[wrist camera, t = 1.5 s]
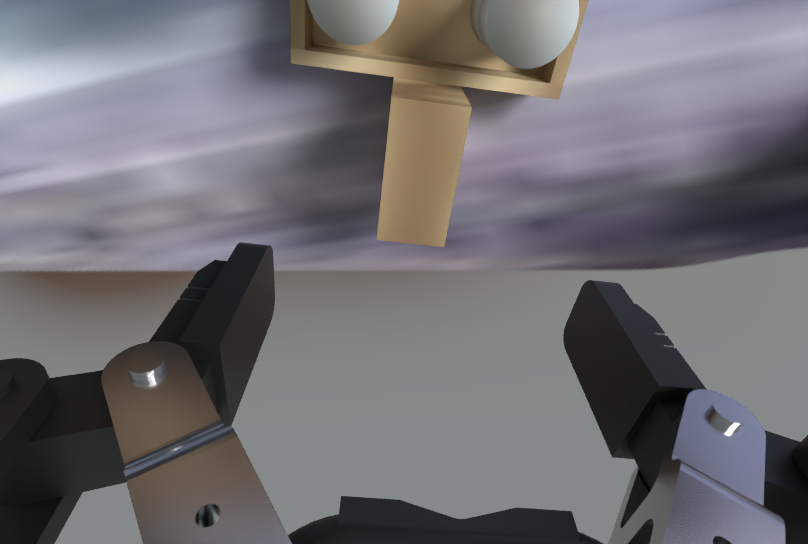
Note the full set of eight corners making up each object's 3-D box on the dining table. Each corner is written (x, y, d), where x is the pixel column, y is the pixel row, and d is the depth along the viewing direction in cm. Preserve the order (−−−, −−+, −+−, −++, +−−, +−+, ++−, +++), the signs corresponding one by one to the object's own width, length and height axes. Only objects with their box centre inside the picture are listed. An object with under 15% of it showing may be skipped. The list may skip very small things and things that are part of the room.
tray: (581, -60, 19) (658, -78, 13) (511, 195, 26) (542, 257, 20) (304, -104, 19) (257, -144, 13) (303, 170, 25) (273, 228, 19)
